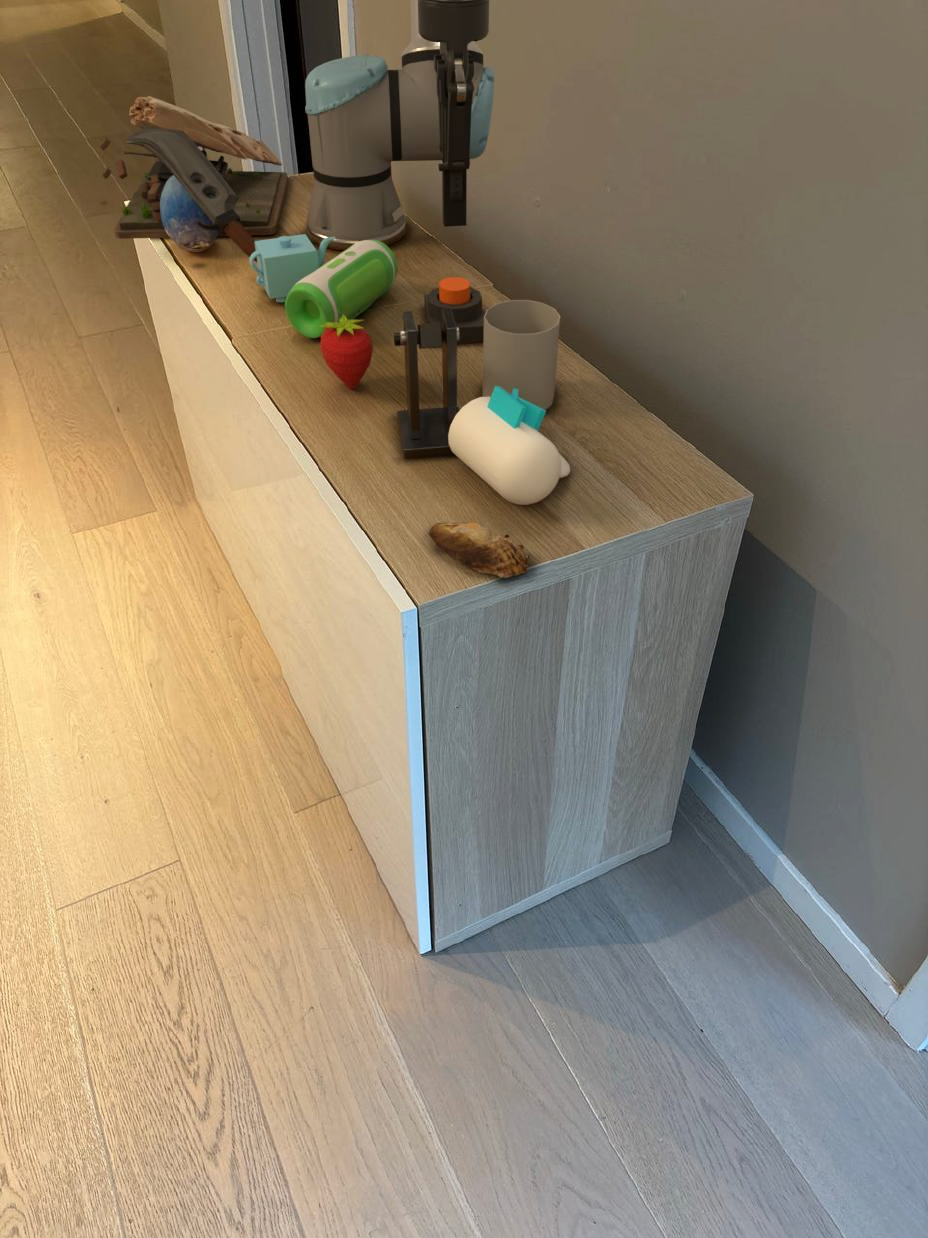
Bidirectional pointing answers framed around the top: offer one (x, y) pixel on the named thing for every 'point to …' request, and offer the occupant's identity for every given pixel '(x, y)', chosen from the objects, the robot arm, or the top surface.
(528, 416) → the white handled jug
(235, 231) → the knife
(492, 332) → the cup
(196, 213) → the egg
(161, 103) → the broken wood plank
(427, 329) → the lever
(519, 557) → the oyster shell
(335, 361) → the strawberry
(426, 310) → the control block
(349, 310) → the speaker
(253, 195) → the tank diorama
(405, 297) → the top surface
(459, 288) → the button
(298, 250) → the teapot
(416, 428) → the bracket
